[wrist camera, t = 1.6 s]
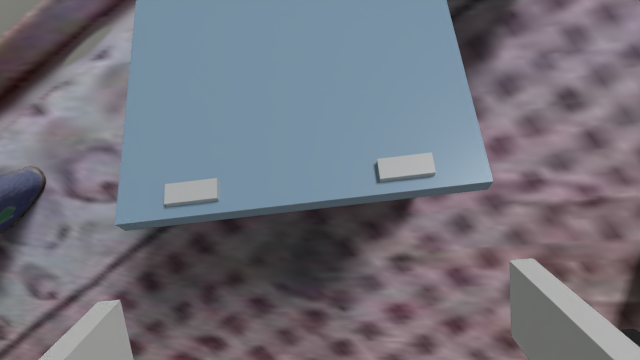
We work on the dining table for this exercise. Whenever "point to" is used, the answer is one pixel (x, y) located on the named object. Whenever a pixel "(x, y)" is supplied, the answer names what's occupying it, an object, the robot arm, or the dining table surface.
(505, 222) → the dining table surface
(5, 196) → the flask
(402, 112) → the cover
